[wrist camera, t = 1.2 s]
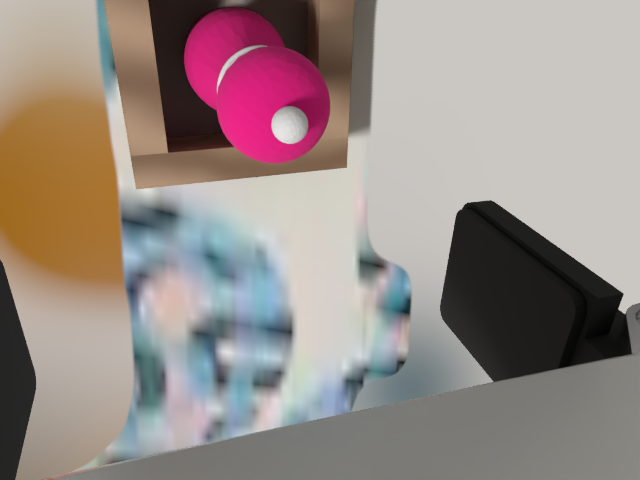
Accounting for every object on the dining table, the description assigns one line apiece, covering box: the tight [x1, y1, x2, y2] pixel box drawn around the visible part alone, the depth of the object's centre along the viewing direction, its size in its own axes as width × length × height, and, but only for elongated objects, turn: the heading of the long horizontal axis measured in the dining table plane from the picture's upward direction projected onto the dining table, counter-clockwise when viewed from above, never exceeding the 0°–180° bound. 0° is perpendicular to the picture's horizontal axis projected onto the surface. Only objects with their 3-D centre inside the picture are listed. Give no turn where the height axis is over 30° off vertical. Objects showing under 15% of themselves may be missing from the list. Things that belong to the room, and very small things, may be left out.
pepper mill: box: [184, 7, 330, 164], centre depth 33 cm, size 7×7×20 cm
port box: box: [104, 0, 355, 189], centre depth 38 cm, size 16×16×6 cm
